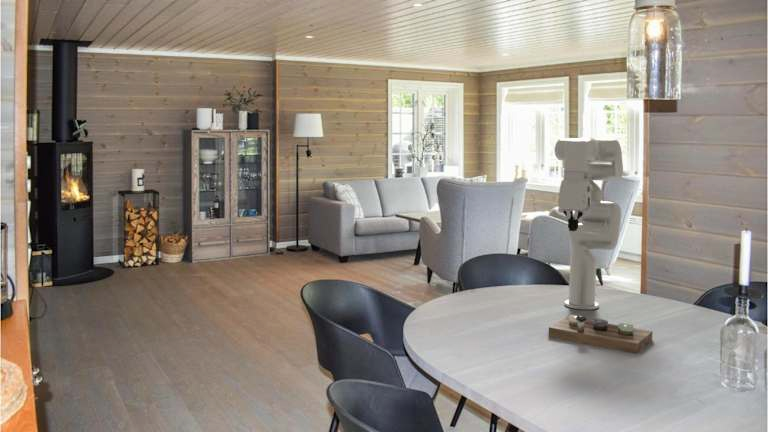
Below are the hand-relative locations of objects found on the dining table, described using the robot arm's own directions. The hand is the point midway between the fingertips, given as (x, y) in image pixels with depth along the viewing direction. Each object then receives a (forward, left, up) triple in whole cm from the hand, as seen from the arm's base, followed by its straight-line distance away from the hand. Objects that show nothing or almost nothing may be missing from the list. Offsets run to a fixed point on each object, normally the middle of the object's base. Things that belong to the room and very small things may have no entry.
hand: (572, 230), depth 238 cm
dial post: (+18, +11, -29) cm, 36 cm away
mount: (+12, +15, -32) cm, 37 cm away
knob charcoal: (+12, +15, -32) cm, 37 cm away
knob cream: (+12, +7, -32) cm, 35 cm away
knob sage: (+12, +23, -32) cm, 41 cm away
